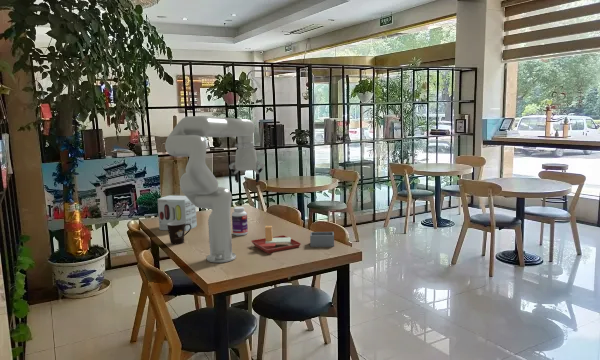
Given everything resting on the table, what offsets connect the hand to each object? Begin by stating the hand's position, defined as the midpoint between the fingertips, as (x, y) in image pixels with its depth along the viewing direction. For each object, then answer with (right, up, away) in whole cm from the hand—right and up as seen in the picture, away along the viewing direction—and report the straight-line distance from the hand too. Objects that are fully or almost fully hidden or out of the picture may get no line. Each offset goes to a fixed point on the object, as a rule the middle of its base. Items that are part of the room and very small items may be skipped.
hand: (247, 182), depth 216 cm
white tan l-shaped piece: (+15, -28, -4) cm, 32 cm away
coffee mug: (-35, -31, +10) cm, 47 cm away
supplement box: (-44, -27, +42) cm, 67 cm away
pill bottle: (-7, -28, +23) cm, 37 cm away
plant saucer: (+14, -32, -4) cm, 35 cm away
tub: (+36, -30, -4) cm, 47 cm away
